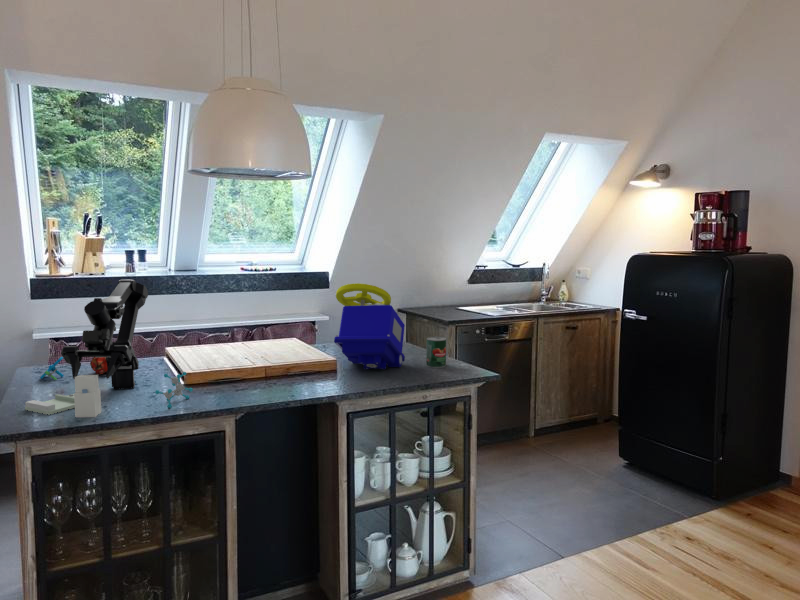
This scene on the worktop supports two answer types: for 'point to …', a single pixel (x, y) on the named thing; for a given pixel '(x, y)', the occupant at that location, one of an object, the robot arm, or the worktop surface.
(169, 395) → the molecular model
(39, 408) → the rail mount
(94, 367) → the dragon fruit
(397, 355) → the control box
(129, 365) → the robot arm
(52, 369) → the blue green branched piece
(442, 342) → the canned tomato
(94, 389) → the block
